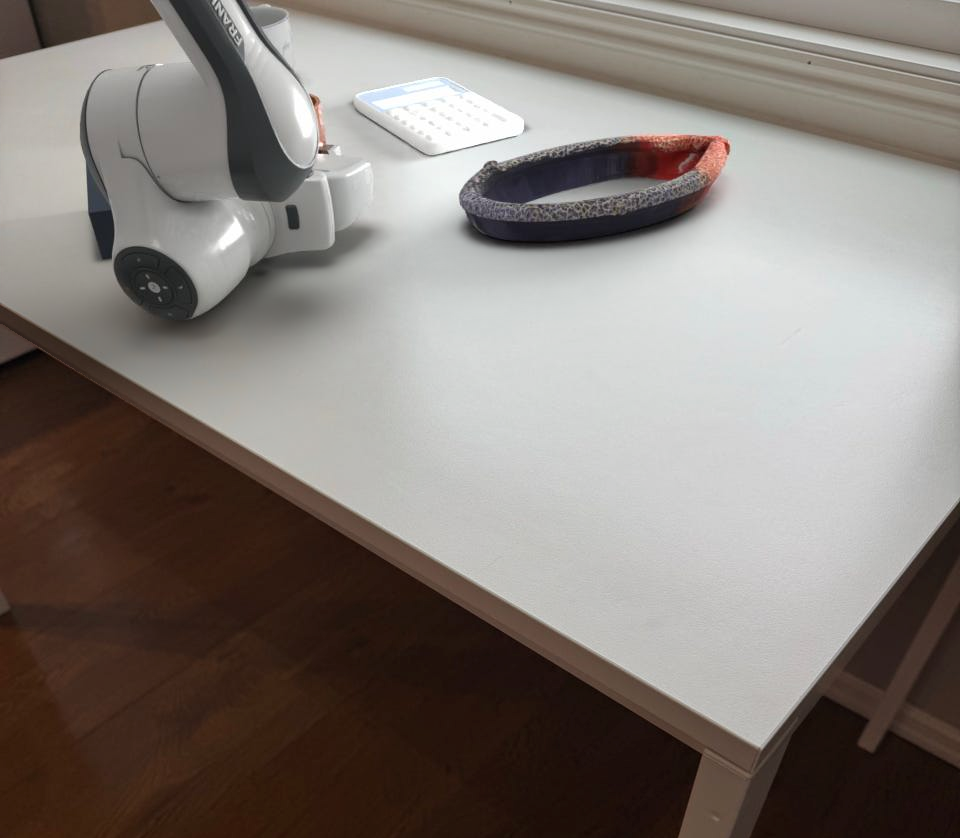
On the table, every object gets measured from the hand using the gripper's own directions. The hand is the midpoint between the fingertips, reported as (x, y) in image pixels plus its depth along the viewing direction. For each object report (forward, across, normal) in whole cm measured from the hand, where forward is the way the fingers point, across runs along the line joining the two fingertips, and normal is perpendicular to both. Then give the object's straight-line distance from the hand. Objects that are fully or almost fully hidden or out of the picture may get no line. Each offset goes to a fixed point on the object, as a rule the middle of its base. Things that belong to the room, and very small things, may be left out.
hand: (297, 149), depth 97 cm
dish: (+5, +30, -6) cm, 31 cm away
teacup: (+36, -21, -6) cm, 42 cm away
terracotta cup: (-1, 0, -6) cm, 6 cm away
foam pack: (-9, -13, -5) cm, 17 cm away
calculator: (+27, +6, -6) cm, 28 cm away
